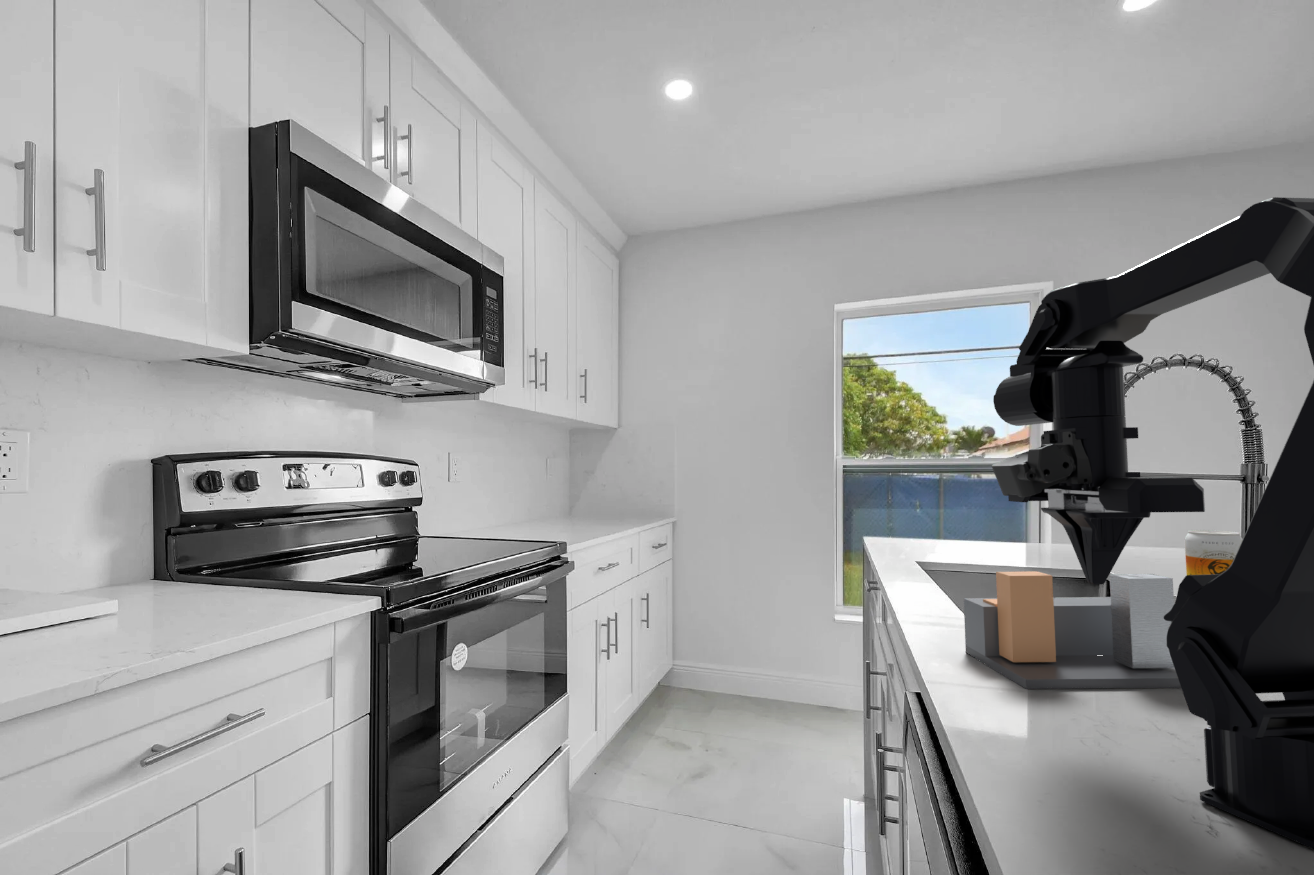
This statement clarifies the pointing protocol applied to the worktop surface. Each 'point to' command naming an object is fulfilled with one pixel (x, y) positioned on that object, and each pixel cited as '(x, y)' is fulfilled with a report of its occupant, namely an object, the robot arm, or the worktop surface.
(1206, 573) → the beer can
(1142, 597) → the light grey block
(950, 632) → the worktop surface
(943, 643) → the worktop surface
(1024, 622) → the tan rectangular block
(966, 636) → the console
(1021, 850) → the worktop surface
